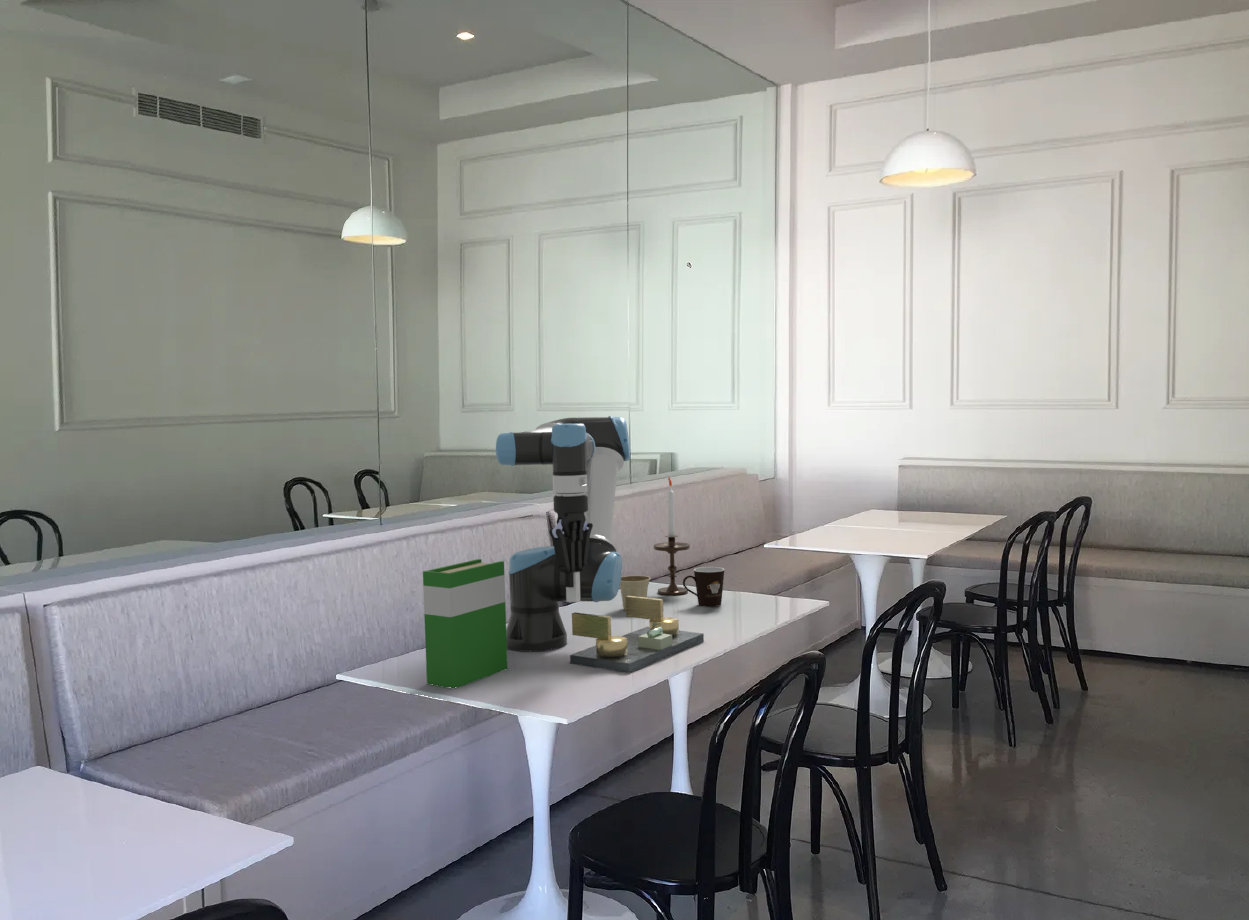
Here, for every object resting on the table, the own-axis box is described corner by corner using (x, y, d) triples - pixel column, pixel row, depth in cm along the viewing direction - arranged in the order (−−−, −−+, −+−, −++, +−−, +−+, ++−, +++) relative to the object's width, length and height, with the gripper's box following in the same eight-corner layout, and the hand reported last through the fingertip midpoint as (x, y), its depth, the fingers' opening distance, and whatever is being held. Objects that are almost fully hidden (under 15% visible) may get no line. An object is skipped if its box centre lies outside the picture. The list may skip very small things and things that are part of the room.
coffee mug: (725, 601, 301) (724, 566, 300) (725, 607, 292) (724, 572, 292) (684, 601, 302) (683, 567, 301) (683, 608, 293) (682, 572, 293)
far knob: (684, 631, 255) (683, 598, 254) (668, 637, 249) (668, 603, 248) (635, 625, 262) (635, 593, 262) (619, 631, 257) (619, 598, 256)
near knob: (633, 651, 236) (632, 615, 236) (616, 658, 231) (615, 622, 230) (583, 644, 244) (582, 610, 244) (565, 650, 238) (564, 615, 238)
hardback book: (481, 664, 237) (478, 559, 235) (507, 668, 233) (504, 561, 231) (427, 684, 222) (422, 571, 221) (453, 688, 218) (449, 573, 217)
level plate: (629, 672, 227) (628, 645, 227) (570, 663, 236) (569, 637, 236) (703, 641, 253) (703, 617, 253) (647, 634, 262) (647, 610, 262)
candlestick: (649, 591, 319) (646, 476, 317) (682, 588, 323) (679, 474, 321) (663, 597, 309) (660, 478, 307) (696, 594, 313) (694, 476, 311)
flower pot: (612, 607, 296) (611, 577, 296) (642, 604, 300) (641, 574, 300) (626, 613, 288) (625, 582, 287) (657, 609, 292) (656, 579, 291)
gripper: (566, 497, 223) (569, 608, 224) (601, 492, 233) (604, 597, 235) (538, 496, 227) (541, 605, 228) (574, 491, 238) (577, 595, 239)
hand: (573, 601), depth 231 cm, fingers closed
